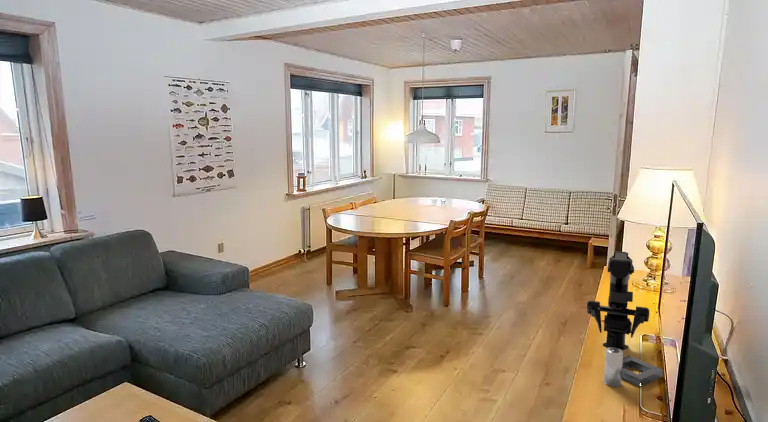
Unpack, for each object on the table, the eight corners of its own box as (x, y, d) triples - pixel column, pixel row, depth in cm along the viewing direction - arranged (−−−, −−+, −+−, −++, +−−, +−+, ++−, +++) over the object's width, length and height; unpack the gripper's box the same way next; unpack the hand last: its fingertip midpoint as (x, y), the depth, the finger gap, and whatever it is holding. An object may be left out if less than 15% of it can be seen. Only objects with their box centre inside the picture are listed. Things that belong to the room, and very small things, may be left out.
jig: (628, 362, 168) (629, 355, 168) (662, 376, 158) (663, 369, 158) (606, 371, 163) (606, 364, 162) (639, 387, 152) (640, 379, 152)
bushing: (610, 377, 159) (612, 345, 157) (624, 384, 154) (626, 351, 152) (600, 381, 156) (602, 349, 154) (614, 388, 152) (616, 355, 150)
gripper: (588, 278, 165) (584, 320, 158) (651, 284, 157) (649, 330, 149) (589, 292, 174) (585, 333, 166) (648, 299, 165) (647, 343, 158)
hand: (615, 334), depth 160 cm, fingers open, 9 cm apart
